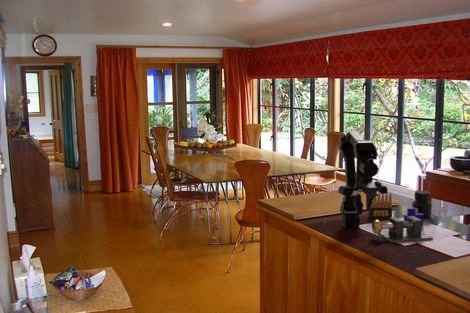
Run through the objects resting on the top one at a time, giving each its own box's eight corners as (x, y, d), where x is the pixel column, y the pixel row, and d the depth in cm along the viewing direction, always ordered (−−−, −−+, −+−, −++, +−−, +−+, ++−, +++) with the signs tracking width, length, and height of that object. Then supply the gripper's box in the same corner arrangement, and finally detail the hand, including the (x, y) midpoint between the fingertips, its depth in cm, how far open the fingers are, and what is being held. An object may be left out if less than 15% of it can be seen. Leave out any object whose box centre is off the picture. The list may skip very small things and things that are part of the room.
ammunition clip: (391, 217, 240) (391, 192, 238) (392, 218, 238) (393, 193, 237) (368, 217, 240) (369, 192, 239) (369, 218, 239) (370, 193, 237)
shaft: (377, 235, 204) (378, 221, 203) (371, 231, 209) (371, 218, 209) (415, 233, 207) (415, 219, 206) (408, 229, 212) (408, 216, 212)
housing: (391, 242, 202) (392, 223, 201) (377, 233, 214) (378, 216, 213) (432, 239, 205) (433, 221, 204) (416, 231, 217) (417, 214, 216)
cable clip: (403, 220, 235) (404, 208, 234) (413, 220, 235) (414, 207, 234) (412, 227, 223) (413, 214, 223) (422, 227, 223) (423, 214, 222)
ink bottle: (411, 213, 247) (412, 189, 245) (431, 215, 244) (432, 190, 242) (411, 218, 238) (412, 193, 236) (431, 220, 235) (432, 194, 233)
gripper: (349, 177, 193) (348, 217, 195) (395, 175, 196) (393, 214, 198) (338, 172, 203) (337, 210, 206) (381, 170, 207) (380, 207, 209)
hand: (362, 210), depth 204 cm, fingers open, 4 cm apart
